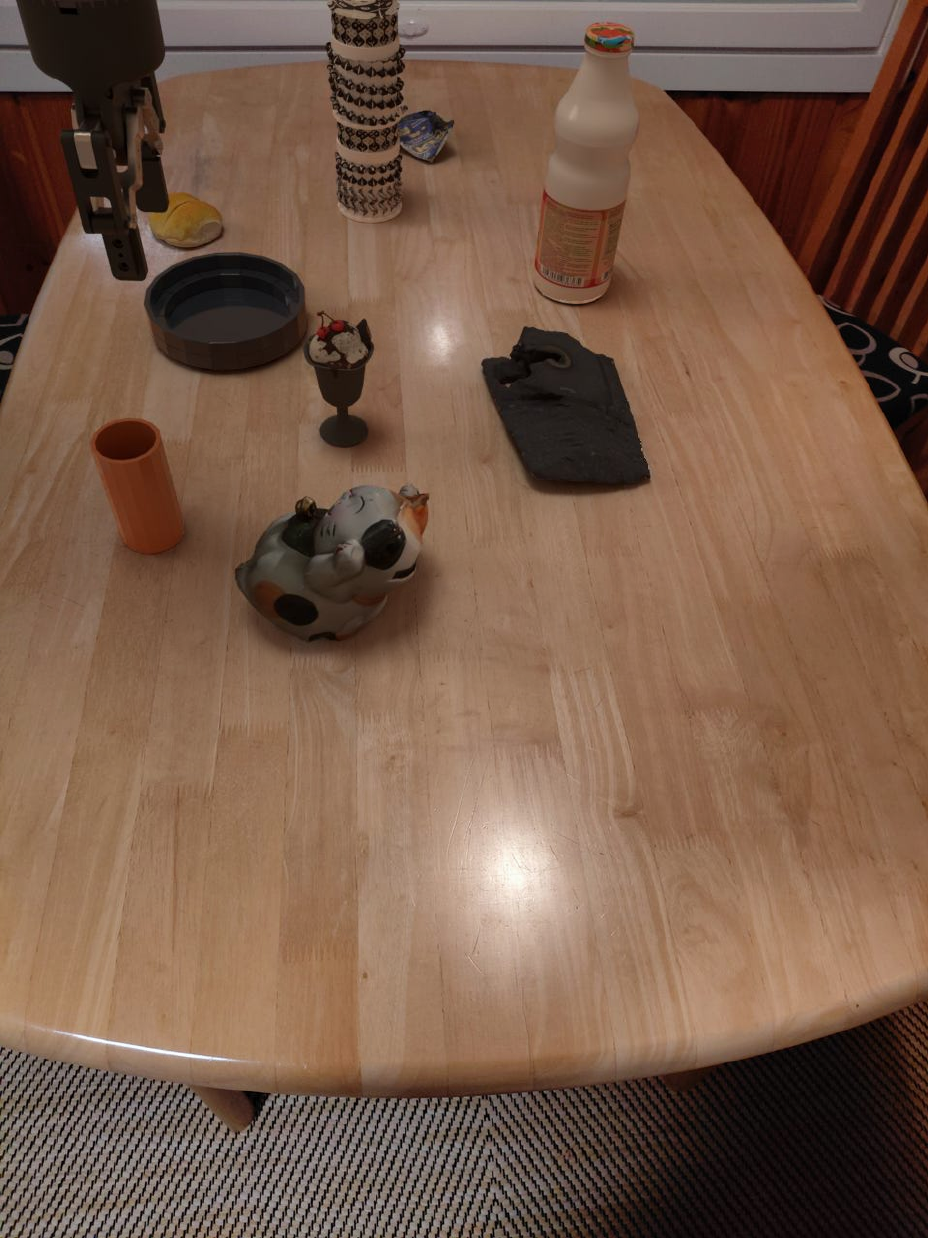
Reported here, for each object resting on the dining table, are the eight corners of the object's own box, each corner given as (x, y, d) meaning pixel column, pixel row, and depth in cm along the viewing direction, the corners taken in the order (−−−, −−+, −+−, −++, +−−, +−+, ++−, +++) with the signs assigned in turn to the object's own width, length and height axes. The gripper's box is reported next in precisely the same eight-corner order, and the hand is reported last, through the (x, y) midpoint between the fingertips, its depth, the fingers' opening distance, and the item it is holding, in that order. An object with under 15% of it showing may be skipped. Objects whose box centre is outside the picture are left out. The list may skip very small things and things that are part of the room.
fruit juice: (548, 311, 110) (584, 53, 88) (521, 268, 116) (549, 14, 94) (620, 301, 112) (674, 46, 90) (591, 259, 118) (634, 9, 96)
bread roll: (187, 205, 121) (182, 174, 117) (234, 231, 117) (229, 201, 114) (135, 229, 116) (128, 198, 113) (182, 257, 113) (176, 226, 110)
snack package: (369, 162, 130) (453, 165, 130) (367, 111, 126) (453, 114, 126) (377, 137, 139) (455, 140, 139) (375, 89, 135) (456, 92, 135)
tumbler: (142, 563, 83) (112, 472, 75) (110, 528, 86) (77, 436, 77) (196, 534, 86) (173, 443, 77) (164, 500, 88) (138, 408, 79)
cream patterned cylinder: (393, 230, 119) (391, 10, 100) (324, 216, 121) (309, -4, 101) (413, 195, 125) (416, -19, 105) (348, 183, 126) (338, -32, 106)
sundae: (304, 448, 93) (290, 319, 82) (319, 406, 98) (308, 276, 86) (368, 457, 93) (364, 328, 81) (381, 414, 97) (379, 285, 85)
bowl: (207, 395, 98) (201, 363, 95) (122, 318, 105) (114, 286, 102) (338, 334, 105) (336, 303, 102) (250, 266, 113) (246, 235, 110)
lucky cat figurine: (306, 511, 88) (376, 408, 79) (400, 598, 88) (479, 505, 79) (205, 582, 76) (272, 472, 68) (312, 682, 77) (393, 585, 68)
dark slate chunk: (507, 497, 91) (511, 461, 87) (477, 358, 104) (480, 321, 100) (659, 489, 93) (669, 453, 89) (610, 353, 106) (618, 317, 102)
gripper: (42, -79, 55) (109, 188, 68) (-28, 16, 47) (63, 301, 60) (171, -71, 56) (212, 192, 69) (124, 24, 47) (182, 305, 60)
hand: (143, 242), depth 64 cm, fingers open, 8 cm apart
